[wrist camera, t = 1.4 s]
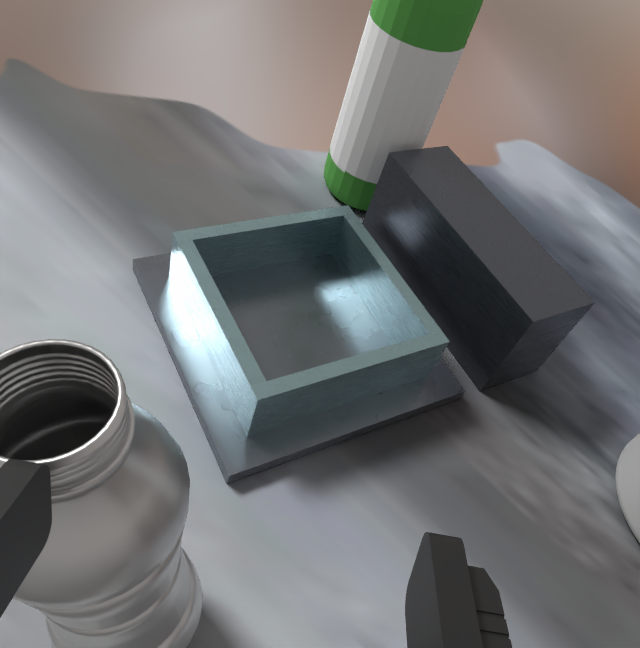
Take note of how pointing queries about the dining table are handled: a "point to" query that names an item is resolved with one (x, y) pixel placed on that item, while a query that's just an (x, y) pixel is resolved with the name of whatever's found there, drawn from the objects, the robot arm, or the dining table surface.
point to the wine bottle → (395, 88)
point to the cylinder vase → (630, 484)
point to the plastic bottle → (100, 502)
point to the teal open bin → (354, 311)
